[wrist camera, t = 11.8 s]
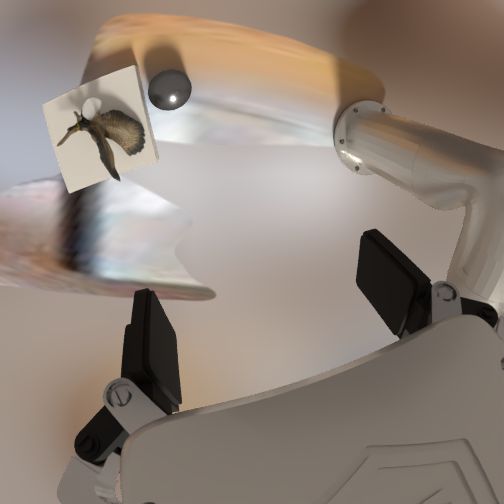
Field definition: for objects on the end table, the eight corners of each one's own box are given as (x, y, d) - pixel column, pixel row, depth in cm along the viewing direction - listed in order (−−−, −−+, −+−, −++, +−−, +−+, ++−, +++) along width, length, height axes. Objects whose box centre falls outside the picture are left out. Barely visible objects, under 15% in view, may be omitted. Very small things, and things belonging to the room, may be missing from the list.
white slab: (138, 67, 26) (134, 64, 24) (159, 157, 34) (157, 162, 31) (51, 103, 25) (42, 104, 22) (76, 185, 32) (69, 193, 30)
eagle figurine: (64, 158, 26) (118, 190, 29) (48, 134, 19) (113, 172, 22) (99, 110, 28) (152, 140, 31) (93, 80, 21) (157, 112, 24)
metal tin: (187, 68, 28) (187, 65, 25) (193, 103, 31) (195, 104, 28) (148, 78, 27) (144, 76, 24) (156, 113, 30) (152, 115, 27)
